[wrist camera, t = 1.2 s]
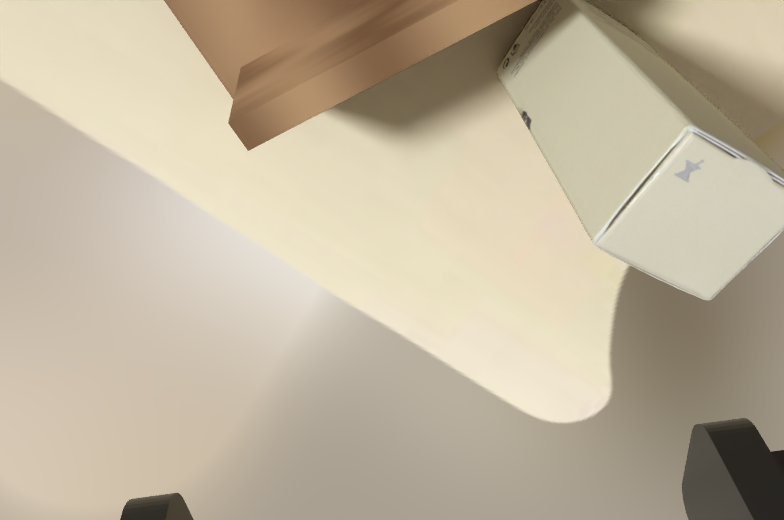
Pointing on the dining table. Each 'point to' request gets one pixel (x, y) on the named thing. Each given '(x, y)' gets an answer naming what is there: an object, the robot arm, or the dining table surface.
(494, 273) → the dining table surface
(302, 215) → the dining table surface
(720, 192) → the box
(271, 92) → the rack
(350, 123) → the dining table surface
